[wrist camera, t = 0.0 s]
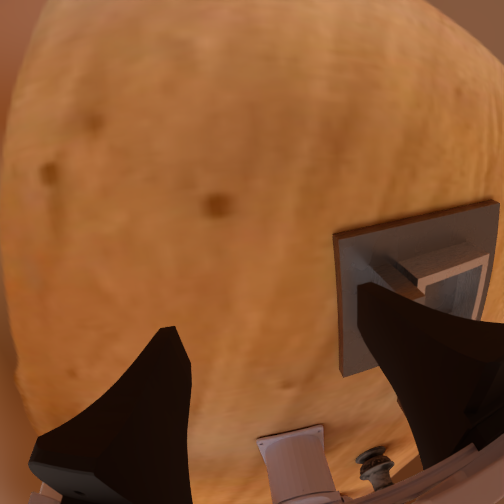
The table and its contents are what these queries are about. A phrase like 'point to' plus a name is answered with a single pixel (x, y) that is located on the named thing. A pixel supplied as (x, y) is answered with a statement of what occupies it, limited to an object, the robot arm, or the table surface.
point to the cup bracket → (415, 268)
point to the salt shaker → (375, 468)
